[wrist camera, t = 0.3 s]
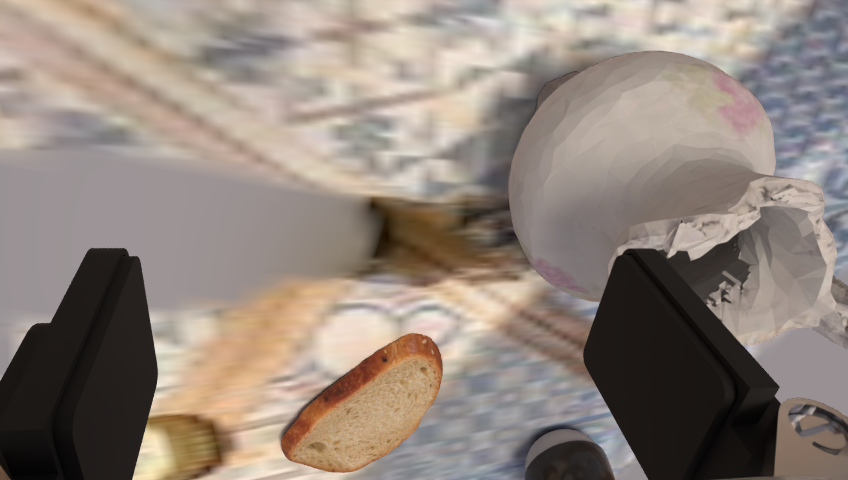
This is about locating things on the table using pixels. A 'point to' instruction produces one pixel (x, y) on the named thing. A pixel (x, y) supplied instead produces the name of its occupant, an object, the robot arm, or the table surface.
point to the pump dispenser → (567, 458)
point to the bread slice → (368, 408)
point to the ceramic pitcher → (674, 194)
